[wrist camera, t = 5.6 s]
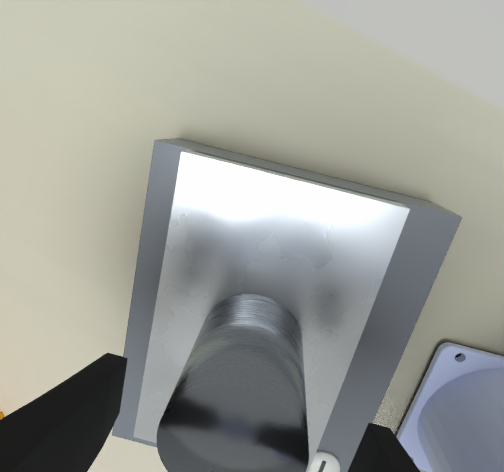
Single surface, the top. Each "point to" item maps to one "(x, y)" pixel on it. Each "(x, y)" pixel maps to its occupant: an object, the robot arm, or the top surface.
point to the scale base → (376, 328)
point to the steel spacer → (240, 394)
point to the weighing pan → (267, 272)
